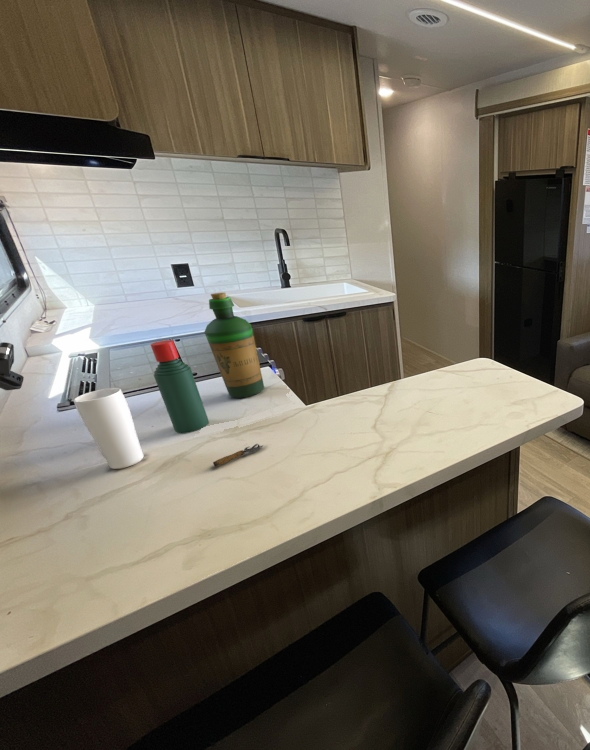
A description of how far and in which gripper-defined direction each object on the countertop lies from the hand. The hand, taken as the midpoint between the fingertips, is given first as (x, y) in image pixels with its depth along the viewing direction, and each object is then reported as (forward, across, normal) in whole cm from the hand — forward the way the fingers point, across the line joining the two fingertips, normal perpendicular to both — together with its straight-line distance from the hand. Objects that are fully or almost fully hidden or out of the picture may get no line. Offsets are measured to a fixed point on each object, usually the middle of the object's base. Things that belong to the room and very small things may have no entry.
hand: (16, 384), depth 61 cm
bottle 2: (+49, +12, +17) cm, 53 cm away
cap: (+23, +6, +16) cm, 29 cm away
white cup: (+25, 0, -6) cm, 26 cm away
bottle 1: (+35, +6, +4) cm, 36 cm away
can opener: (+21, +22, -10) cm, 33 cm away
